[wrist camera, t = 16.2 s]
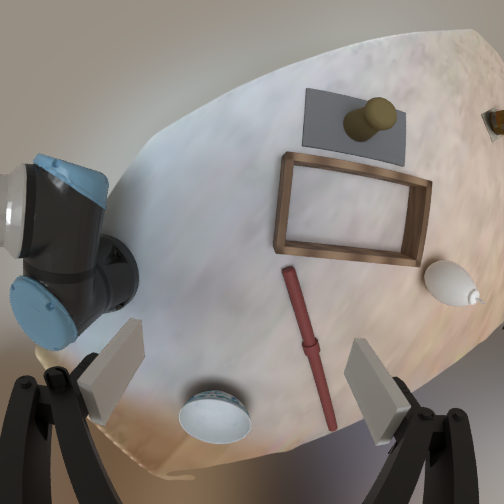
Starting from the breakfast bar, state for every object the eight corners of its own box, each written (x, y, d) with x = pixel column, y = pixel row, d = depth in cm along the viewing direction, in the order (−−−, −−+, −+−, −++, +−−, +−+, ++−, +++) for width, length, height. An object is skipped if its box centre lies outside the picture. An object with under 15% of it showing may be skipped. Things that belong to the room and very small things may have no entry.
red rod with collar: (278, 269, 49) (280, 274, 46) (295, 263, 48) (298, 268, 45) (326, 426, 58) (328, 434, 55) (337, 422, 58) (340, 430, 55)
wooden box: (272, 245, 47) (275, 253, 42) (282, 156, 44) (286, 151, 38) (404, 259, 48) (420, 267, 42) (415, 181, 45) (432, 181, 39)
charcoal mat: (302, 146, 44) (302, 145, 43) (306, 88, 41) (306, 87, 41) (402, 166, 44) (404, 166, 44) (404, 113, 42) (405, 112, 41)
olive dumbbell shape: (352, 104, 41) (376, 84, 30) (378, 123, 42) (408, 109, 31) (337, 129, 42) (360, 113, 32) (364, 148, 43) (393, 139, 32)
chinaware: (193, 367, 53) (186, 390, 46) (261, 386, 54) (262, 411, 47) (180, 410, 56) (173, 432, 49) (239, 426, 57) (238, 449, 50)
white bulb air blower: (412, 266, 48) (467, 297, 31) (438, 248, 47) (496, 271, 30) (420, 296, 50) (470, 334, 32) (445, 279, 49) (498, 308, 31)
